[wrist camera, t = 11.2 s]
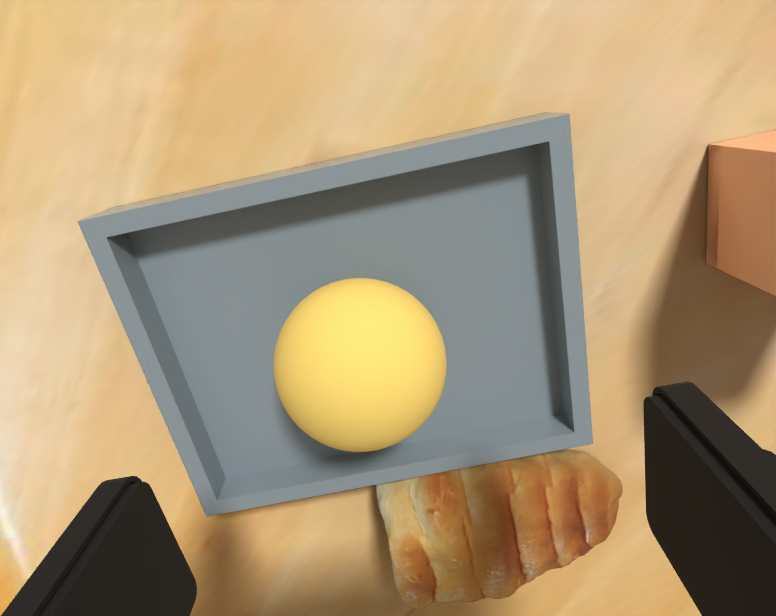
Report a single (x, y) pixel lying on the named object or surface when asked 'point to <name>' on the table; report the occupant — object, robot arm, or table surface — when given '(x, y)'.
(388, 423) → the ball
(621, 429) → the table surface
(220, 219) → the tray
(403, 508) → the pastry
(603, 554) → the table surface
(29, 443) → the table surface
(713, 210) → the open box
